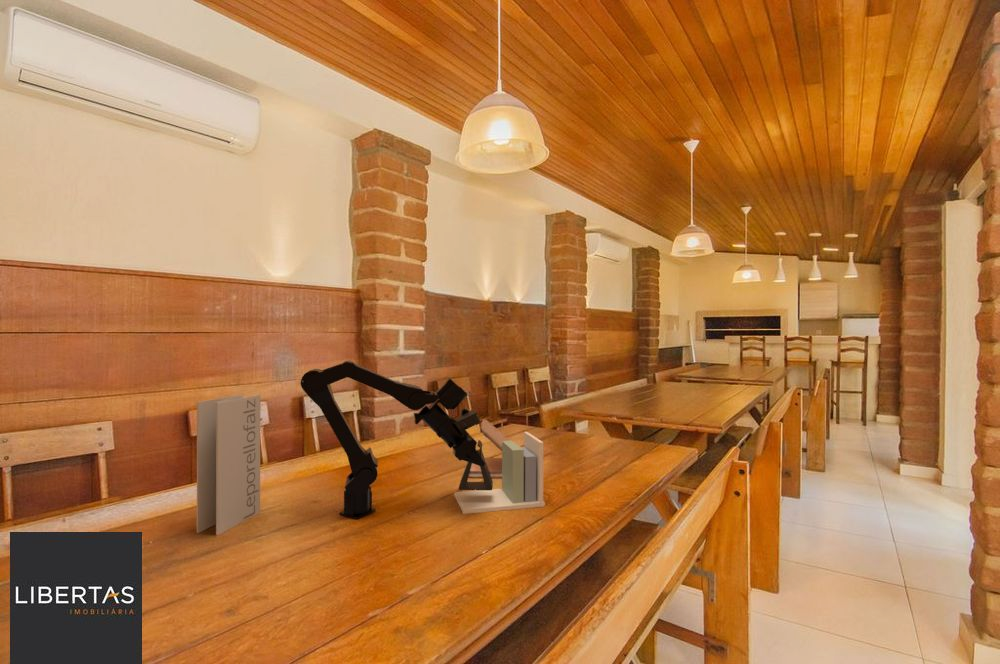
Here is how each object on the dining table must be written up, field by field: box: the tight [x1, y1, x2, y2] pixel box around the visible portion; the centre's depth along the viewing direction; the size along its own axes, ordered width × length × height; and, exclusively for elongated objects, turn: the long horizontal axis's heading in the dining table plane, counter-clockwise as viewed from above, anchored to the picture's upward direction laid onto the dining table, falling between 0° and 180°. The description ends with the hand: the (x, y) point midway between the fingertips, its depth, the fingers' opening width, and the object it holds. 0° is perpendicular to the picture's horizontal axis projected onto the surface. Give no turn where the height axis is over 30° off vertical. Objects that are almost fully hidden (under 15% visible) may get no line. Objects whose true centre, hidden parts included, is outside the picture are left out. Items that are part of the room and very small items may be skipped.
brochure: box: [196, 393, 261, 536], centre depth 117 cm, size 14×6×30 cm, turn 168°
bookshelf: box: [453, 431, 546, 515], centre depth 133 cm, size 22×14×17 cm, turn 105°
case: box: [464, 418, 511, 479], centre depth 163 cm, size 20×21×16 cm
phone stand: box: [458, 439, 494, 491], centre depth 131 cm, size 9×6×12 cm, turn 89°
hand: (481, 462), depth 132 cm, fingers closed on phone stand, 6 cm apart
